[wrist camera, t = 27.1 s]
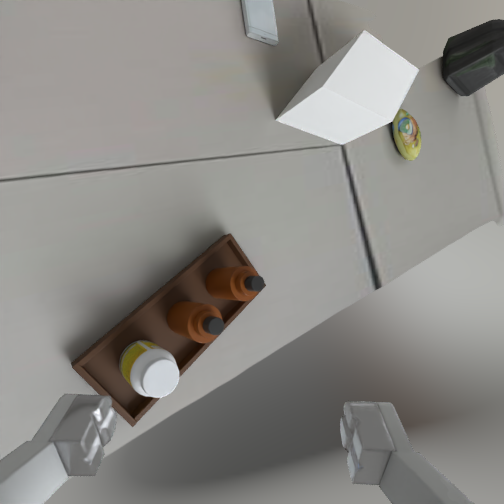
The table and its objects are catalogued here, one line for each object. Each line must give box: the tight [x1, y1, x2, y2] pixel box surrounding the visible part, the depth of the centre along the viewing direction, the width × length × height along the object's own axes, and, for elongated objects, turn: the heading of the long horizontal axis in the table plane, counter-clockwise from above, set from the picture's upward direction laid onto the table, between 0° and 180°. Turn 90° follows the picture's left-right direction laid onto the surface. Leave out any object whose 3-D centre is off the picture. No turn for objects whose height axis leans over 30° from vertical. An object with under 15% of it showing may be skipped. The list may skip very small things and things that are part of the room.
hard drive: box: [241, 0, 279, 46], centre depth 66 cm, size 2×8×12 cm
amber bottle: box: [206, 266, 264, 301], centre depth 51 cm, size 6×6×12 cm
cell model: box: [392, 109, 421, 161], centre depth 94 cm, size 11×8×15 cm
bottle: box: [443, 19, 504, 96], centre depth 109 cm, size 18×16×30 cm
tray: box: [71, 233, 266, 427], centre depth 51 cm, size 32×13×2 cm, turn 130°
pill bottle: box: [119, 340, 179, 398], centre depth 42 cm, size 6×6×11 cm
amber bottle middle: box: [167, 301, 224, 343], centre depth 46 cm, size 6×6×12 cm
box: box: [276, 30, 419, 145], centre depth 72 cm, size 20×40×14 cm, turn 117°
